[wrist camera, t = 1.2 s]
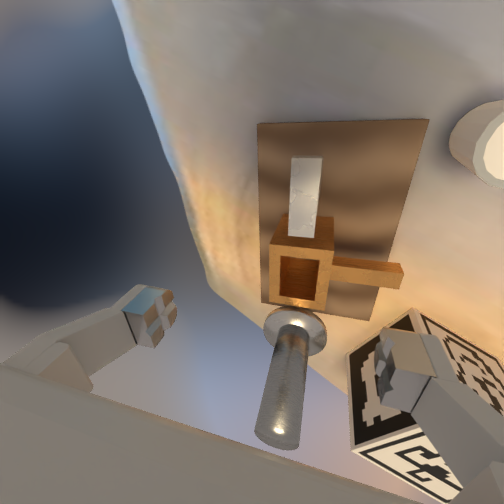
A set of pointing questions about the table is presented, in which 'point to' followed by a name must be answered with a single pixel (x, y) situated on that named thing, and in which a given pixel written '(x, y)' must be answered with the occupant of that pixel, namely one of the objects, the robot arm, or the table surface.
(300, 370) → the ringlock node
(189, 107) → the table surface
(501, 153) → the white short cylinder
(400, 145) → the base board
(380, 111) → the table surface
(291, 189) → the wedge pin
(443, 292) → the table surface
